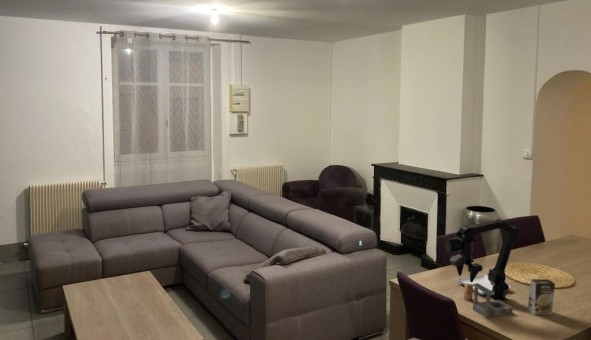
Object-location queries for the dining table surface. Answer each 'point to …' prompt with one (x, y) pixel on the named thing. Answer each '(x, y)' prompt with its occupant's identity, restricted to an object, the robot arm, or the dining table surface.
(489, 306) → the socket block
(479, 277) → the salad plate
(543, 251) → the dining table surface
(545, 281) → the coffee box
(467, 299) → the peg
